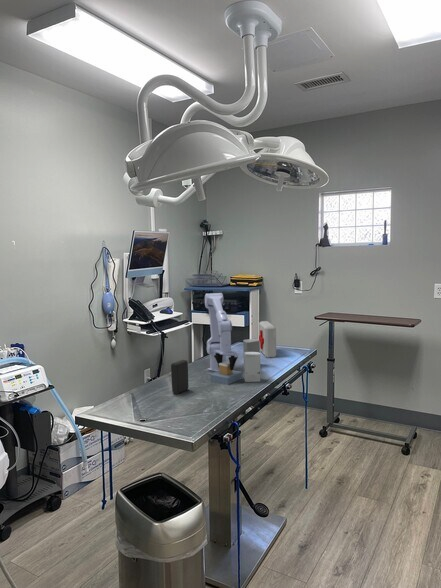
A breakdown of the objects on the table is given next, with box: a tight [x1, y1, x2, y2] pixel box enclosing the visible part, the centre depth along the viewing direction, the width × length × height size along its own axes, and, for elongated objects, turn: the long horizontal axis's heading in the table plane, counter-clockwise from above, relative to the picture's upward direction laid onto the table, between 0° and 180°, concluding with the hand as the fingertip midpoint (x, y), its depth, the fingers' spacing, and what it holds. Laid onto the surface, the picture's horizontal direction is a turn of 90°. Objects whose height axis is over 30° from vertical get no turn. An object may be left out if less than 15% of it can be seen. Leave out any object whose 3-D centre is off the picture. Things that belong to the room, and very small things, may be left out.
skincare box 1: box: [242, 338, 261, 354], centre depth 255 cm, size 8×7×16 cm
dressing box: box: [210, 370, 243, 386], centre depth 231 cm, size 13×11×4 cm
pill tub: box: [218, 360, 233, 375], centre depth 231 cm, size 5×5×6 cm
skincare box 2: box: [243, 351, 261, 383], centre depth 229 cm, size 8×6×15 cm
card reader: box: [170, 359, 189, 395], centre depth 214 cm, size 9×4×15 cm, turn 145°
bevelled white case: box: [258, 320, 277, 359], centre depth 282 cm, size 21×8×20 cm, turn 6°
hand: (226, 368), depth 231 cm, fingers open, 7 cm apart
